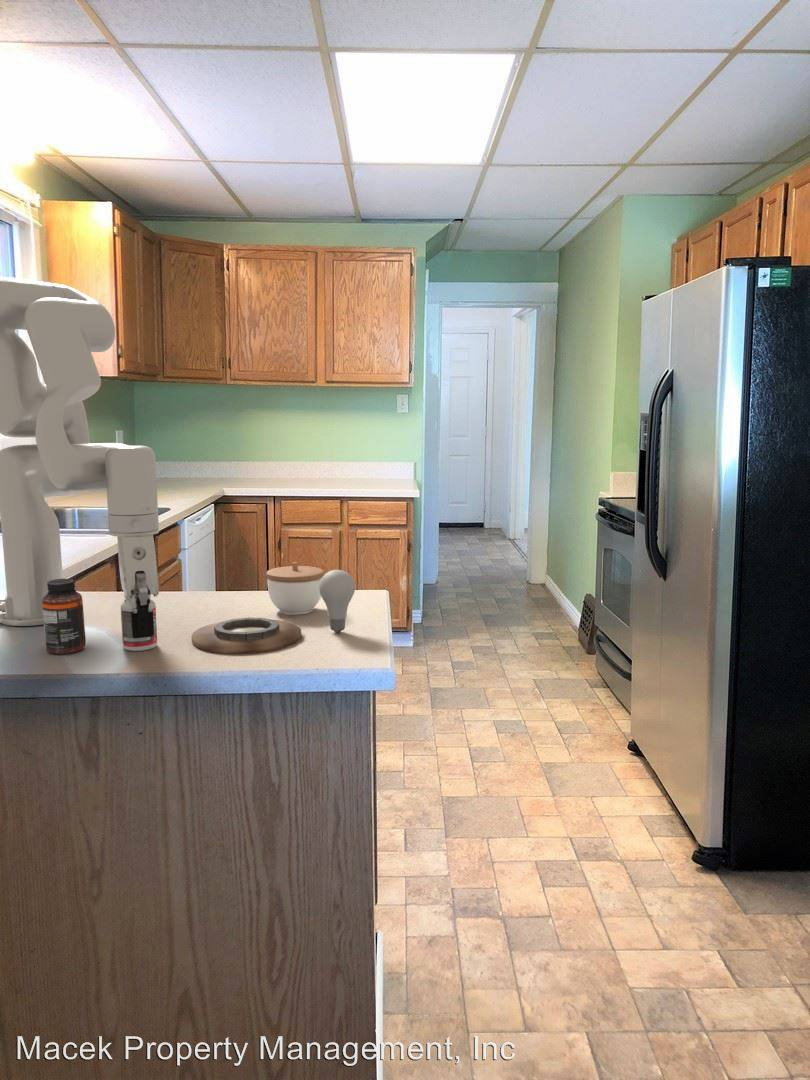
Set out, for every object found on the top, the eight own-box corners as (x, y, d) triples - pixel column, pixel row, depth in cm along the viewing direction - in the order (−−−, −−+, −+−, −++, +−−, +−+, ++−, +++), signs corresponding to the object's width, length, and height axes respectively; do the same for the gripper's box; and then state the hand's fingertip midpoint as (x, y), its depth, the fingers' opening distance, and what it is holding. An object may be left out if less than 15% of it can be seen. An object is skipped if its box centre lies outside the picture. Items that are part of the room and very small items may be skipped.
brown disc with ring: (203, 659, 127) (202, 645, 127) (183, 631, 143) (182, 618, 143) (315, 645, 134) (315, 632, 134) (284, 620, 151) (284, 608, 150)
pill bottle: (161, 648, 133) (159, 588, 131) (127, 653, 130) (124, 593, 129) (151, 640, 137) (149, 583, 136) (118, 645, 134) (115, 586, 133)
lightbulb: (323, 638, 138) (322, 574, 137) (316, 629, 144) (315, 567, 143) (359, 636, 140) (358, 572, 138) (351, 626, 146) (350, 565, 144)
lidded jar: (335, 610, 158) (335, 562, 156) (291, 621, 150) (290, 570, 149) (299, 601, 165) (299, 555, 164) (256, 611, 157) (254, 562, 156)
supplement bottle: (74, 642, 136) (69, 575, 134) (93, 649, 132) (89, 580, 131) (38, 651, 132) (33, 581, 130) (57, 658, 128) (52, 586, 126)
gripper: (166, 530, 124) (171, 640, 127) (151, 516, 140) (156, 615, 143) (113, 533, 121) (120, 646, 124) (104, 519, 137) (110, 619, 140)
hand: (139, 629), depth 133 cm, fingers open, 9 cm apart
